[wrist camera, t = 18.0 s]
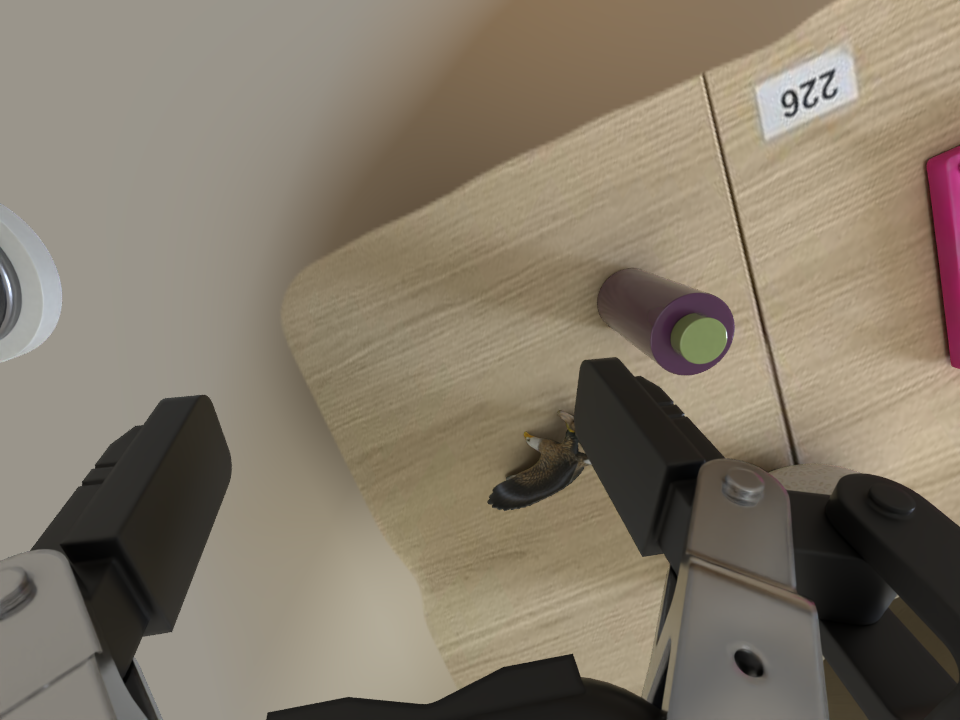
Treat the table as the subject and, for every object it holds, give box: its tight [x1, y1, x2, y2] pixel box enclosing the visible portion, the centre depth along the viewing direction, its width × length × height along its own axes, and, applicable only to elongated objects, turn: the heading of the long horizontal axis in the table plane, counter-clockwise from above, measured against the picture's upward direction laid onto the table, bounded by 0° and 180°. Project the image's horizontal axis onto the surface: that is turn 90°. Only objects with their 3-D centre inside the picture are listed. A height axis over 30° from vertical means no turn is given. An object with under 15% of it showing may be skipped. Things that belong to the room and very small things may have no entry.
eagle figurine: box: [487, 410, 591, 511], centre depth 37 cm, size 8×7×9 cm
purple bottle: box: [597, 268, 735, 375], centre depth 30 cm, size 5×5×11 cm
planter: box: [768, 464, 959, 720], centre depth 36 cm, size 17×17×15 cm
